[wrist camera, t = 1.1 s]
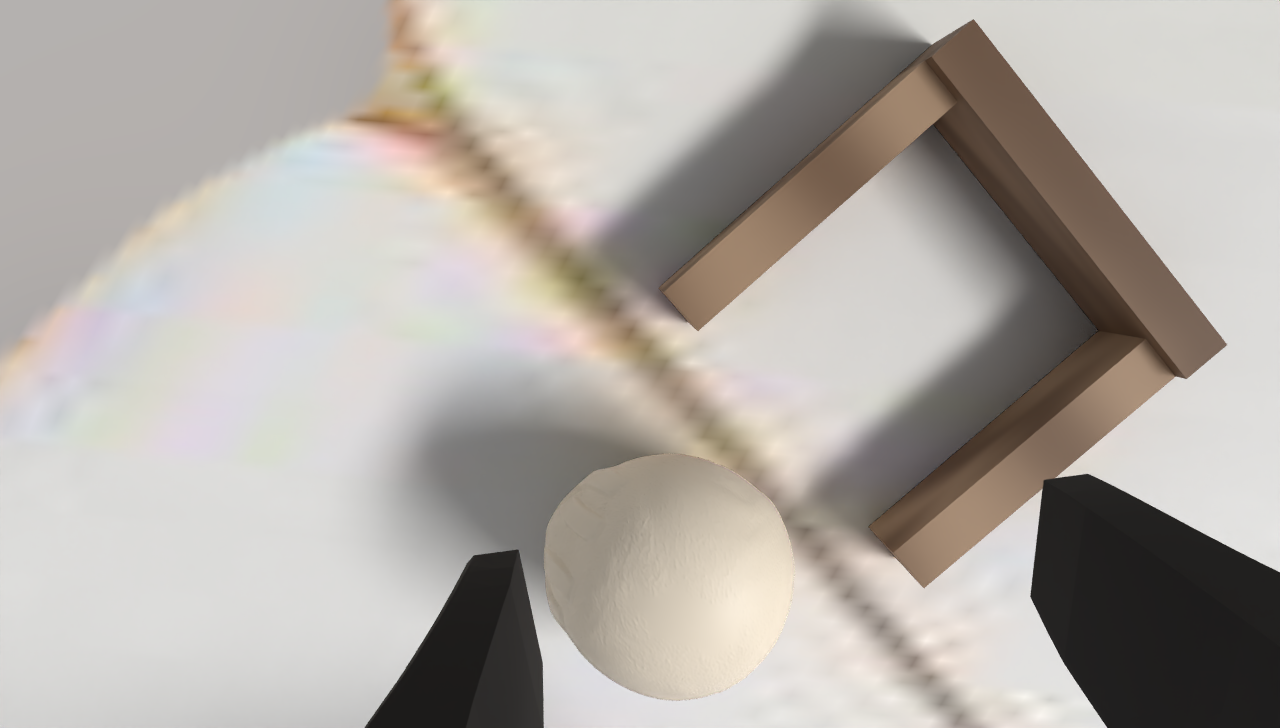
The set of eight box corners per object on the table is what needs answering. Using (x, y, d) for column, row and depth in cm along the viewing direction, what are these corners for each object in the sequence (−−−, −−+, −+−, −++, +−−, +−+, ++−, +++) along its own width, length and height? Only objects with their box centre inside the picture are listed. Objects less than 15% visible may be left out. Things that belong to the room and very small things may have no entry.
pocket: (896, 558, 29) (929, 594, 26) (658, 287, 28) (664, 293, 25) (1162, 334, 29) (1227, 344, 26) (933, 43, 27) (973, 19, 24)
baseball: (594, 396, 28) (590, 441, 22) (801, 479, 29) (860, 549, 22) (516, 584, 29) (489, 685, 22) (720, 661, 29) (752, 782, 23)
